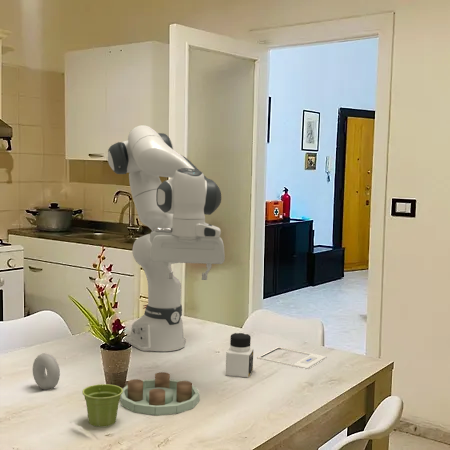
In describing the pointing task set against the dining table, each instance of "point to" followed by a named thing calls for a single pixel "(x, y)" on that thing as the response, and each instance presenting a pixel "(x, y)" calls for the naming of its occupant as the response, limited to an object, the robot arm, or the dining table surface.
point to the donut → (40, 375)
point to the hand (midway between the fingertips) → (187, 279)
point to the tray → (168, 408)
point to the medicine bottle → (239, 356)
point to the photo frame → (302, 363)
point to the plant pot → (102, 403)
